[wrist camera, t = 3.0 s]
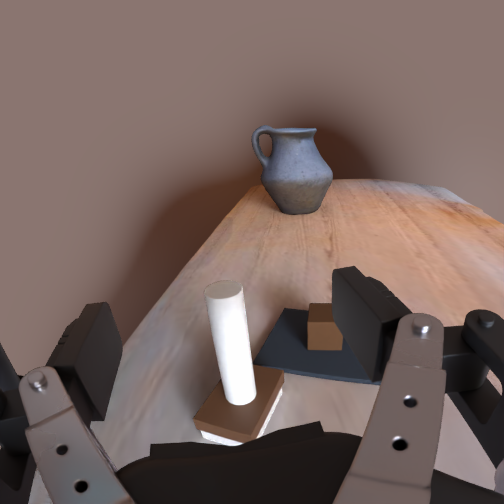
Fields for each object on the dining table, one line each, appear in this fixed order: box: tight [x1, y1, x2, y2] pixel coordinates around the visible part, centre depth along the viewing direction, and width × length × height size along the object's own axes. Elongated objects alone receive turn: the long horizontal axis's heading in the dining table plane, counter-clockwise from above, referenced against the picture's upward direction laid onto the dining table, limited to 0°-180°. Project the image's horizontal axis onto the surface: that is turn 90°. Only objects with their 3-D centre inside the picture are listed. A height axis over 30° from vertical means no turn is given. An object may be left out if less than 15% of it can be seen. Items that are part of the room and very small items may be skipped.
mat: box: [253, 308, 382, 385], centre depth 37 cm, size 16×12×1 cm
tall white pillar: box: [193, 280, 284, 446], centre depth 26 cm, size 8×5×14 cm, turn 158°
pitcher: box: [252, 125, 333, 215], centre depth 88 cm, size 21×22×25 cm
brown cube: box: [307, 303, 343, 350], centre depth 37 cm, size 4×4×4 cm
